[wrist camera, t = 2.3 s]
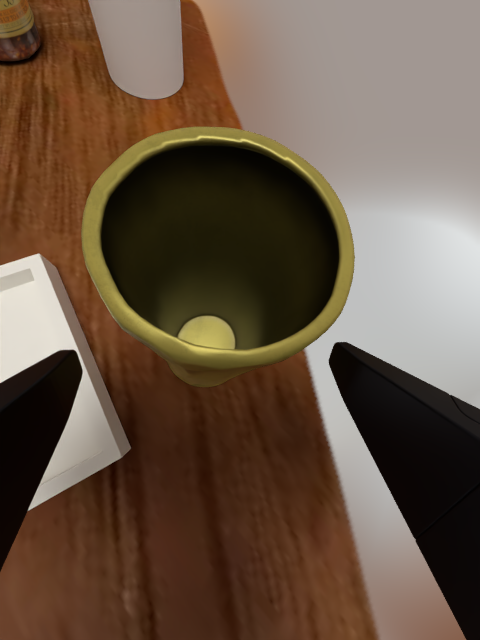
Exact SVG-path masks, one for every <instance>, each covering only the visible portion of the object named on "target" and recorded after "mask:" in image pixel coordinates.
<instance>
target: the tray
mask: <svg viewBox="0 0 480 640" xmlns="http://www.w3.org/2000/svg"><path fill="white" fill-rule="evenodd" d="M59 350H75V351H76V352H77V354H78V357H79V360H80V363H81V366H82V369H83V375H82V379H81V382H80V385H79V388H78V391H77V395H76V398H75V401H74V404H73V407H72V410H71V413H70V416H69V419H68V422H67V424H66V426H65V429H64V431H63V433H62V435H61V438H60V440H59V442H58V444H57V447H56V449H55V451H54V453H53V455H52V458H51V460H50V462H49V464H48V467H47V469H46V471H45V473H44V475H43V478H42V480H41V482H40V484H39V487H38V489H37V491H36V493H35V495H34V498H33V500H32V502H31V504H30V507H29V509H28V511H29V510H30V509H32V508H34V507H36V506H37V505H39V504H41V503H43V502H44V501H46V500H48V499H50V498H51V497H53V496H55V495H57V494H59V493H60V492H62V491H64V490H66V489H67V488H69V487H71V486H73V485H74V484H76V483H78V482H80V481H81V480H83V479H85V478H87V477H89V476H90V475H92V474H94V473H96V472H97V471H99V470H101V469H103V468H104V467H106V466H108V465H110V464H111V463H113V462H115V461H117V460H118V459H120V458H122V457H123V456H124V455H125V454H126V453H127V452H128V451H129V450H130V449H131V447H130V444H129V442H128V439H127V437H126V435H125V432H124V430H123V427H122V425H121V423H120V420H119V418H118V415H117V413H116V410H115V408H114V406H113V403H112V401H111V398H110V396H109V394H108V391H107V389H106V386H105V384H104V381H103V379H102V377H101V374H100V372H99V369H98V367H97V365H96V362H95V360H94V357H93V355H92V352H91V350H90V348H89V345H88V343H87V340H86V338H85V336H84V333H83V331H82V328H81V326H80V323H79V321H78V319H77V316H76V314H75V311H74V309H73V307H72V304H71V302H70V299H69V297H68V294H67V292H66V290H65V287H64V285H63V282H62V280H61V278H60V275H59V273H58V270H57V268H56V267H55V266H54V265H53V264H51V263H50V262H49V261H48V260H47V259H45V258H44V257H43V256H42V255H40V254H36V255H33V256H30V257H26V258H23V259H20V260H17V261H14V262H11V263H7V264H4V265H1V266H0V383H1V382H3V381H5V380H6V379H8V378H10V377H12V376H14V375H15V374H17V373H19V372H21V371H23V370H24V369H26V368H28V367H30V366H32V365H34V364H35V363H37V362H39V361H41V360H43V359H44V358H46V357H48V356H50V355H52V354H53V353H55V352H57V351H59Z"/></svg>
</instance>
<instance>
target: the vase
mask: <svg viewBox="0 0 480 640" xmlns="http://www.w3.org/2000/svg"><path fill="white" fill-rule="evenodd" d="M81 235H82V250H83V255H84V259H85V264H86V267H87V269H88V271H89V273H90V276H91V278H92V280H93V282H94V284H95V286H96V288H97V290H98V292H99V294H100V296H101V298H102V300H103V301H104V303H105V305H106V306H107V308H108V310H109V312H110V313H111V315H112V317H113V318H114V319H115V321H116V322H117V323H118V324H119V326H120V327H121V328H122V329H123V330H124V331H125V332H127V333H128V334H130V335H131V336H132V337H134V338H135V339H137V340H138V341H140V342H141V343H143V344H144V345H146V346H147V347H149V348H150V349H151V350H153V351H154V352H155V353H156V354H158V355H159V356H160V357H161V358H163V359H164V360H166V361H167V363H168V365H169V367H170V369H171V370H172V372H173V373H174V374H175V375H176V376H177V377H178V378H180V379H181V380H182V381H184V382H186V383H187V384H190V385H192V386H197V387H213V386H217V385H220V384H222V383H224V382H226V381H227V380H229V379H231V378H234V377H236V376H238V375H240V374H243V373H245V372H248V371H251V370H253V369H256V368H260V367H264V366H268V365H272V364H275V363H278V362H281V361H284V360H286V359H287V358H289V357H291V356H293V355H294V354H296V353H298V352H300V351H302V350H303V349H304V348H305V347H307V346H308V345H310V344H311V343H312V342H314V341H315V340H317V339H318V338H319V337H320V336H321V335H322V334H323V333H325V332H326V331H327V330H328V329H329V328H330V327H331V326H332V324H333V323H334V322H335V321H336V319H337V318H338V317H339V315H340V314H341V312H342V310H343V308H344V306H345V303H346V300H347V297H348V294H349V291H350V287H351V283H352V279H353V273H354V259H355V256H354V244H353V239H352V233H351V229H350V225H349V222H348V219H347V215H346V213H345V210H344V208H343V206H342V204H341V202H340V200H339V198H338V196H337V195H336V193H335V192H334V190H333V189H332V187H331V186H330V184H329V183H328V182H327V181H326V179H325V178H324V177H323V176H322V174H320V173H319V172H318V171H317V170H316V169H315V168H314V167H313V166H312V165H310V164H309V163H308V162H307V161H306V160H304V159H303V158H301V157H300V156H298V155H297V154H295V153H294V152H293V151H291V150H289V149H288V148H287V147H285V146H283V145H282V144H280V143H278V142H276V141H274V140H272V139H270V138H267V137H265V136H262V135H259V134H256V133H252V132H249V131H244V130H240V129H234V128H224V127H189V128H181V129H176V130H171V131H166V132H162V133H158V134H155V135H152V136H150V137H148V138H146V139H144V140H142V141H140V142H138V143H137V144H135V145H133V146H132V147H131V148H129V149H128V150H127V151H125V152H124V153H123V154H122V155H121V156H120V157H119V158H118V159H117V160H116V161H115V162H114V163H113V164H111V165H110V166H109V167H108V168H107V169H106V170H105V171H104V172H103V173H102V175H101V176H100V177H99V179H98V180H97V181H96V183H95V184H94V185H93V187H92V189H91V192H90V194H89V196H88V199H87V202H86V206H85V209H84V213H83V221H82V230H81Z"/></svg>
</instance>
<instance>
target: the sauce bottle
mask: <svg viewBox="0 0 480 640" xmlns="http://www.w3.org/2000/svg"><path fill="white" fill-rule="evenodd" d="M40 44H41V42H40V37H39V33H38V31H37V28H36V26H35V23H34V16H33V13H32V11H31V8H30V6H29V4H28V1H27V0H0V61H19V60H24V59H27V58H30V56H32V55H33V54H34V53H35V52H36V51H37V49H38V48H39V47H40Z"/></svg>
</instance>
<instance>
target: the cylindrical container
mask: <svg viewBox="0 0 480 640" xmlns="http://www.w3.org/2000/svg"><path fill="white" fill-rule="evenodd" d="M88 1H89V4H90V8H91V11H92V15H93V18H94V22H95V25H96V29H97V32H98V36H99V39H100V43H101V46H102V50H103V53H104V57H105V61H106V64H107V68H108V71H109V74H110V76H111V79H112V80H113V81H114V83H115V84H116V85H117V86H118V87H119V88H120V89H122V90H123V91H125V92H127V93H129V94H131V95H133V96H136V97H140V98H145V99H162V98H166V97H169V96H171V95H173V94H175V93H176V92H177V91H178V90H179V89H180V88H181V86H182V84H183V77H184V76H183V54H182V33H181V11H180V0H88Z"/></svg>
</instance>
